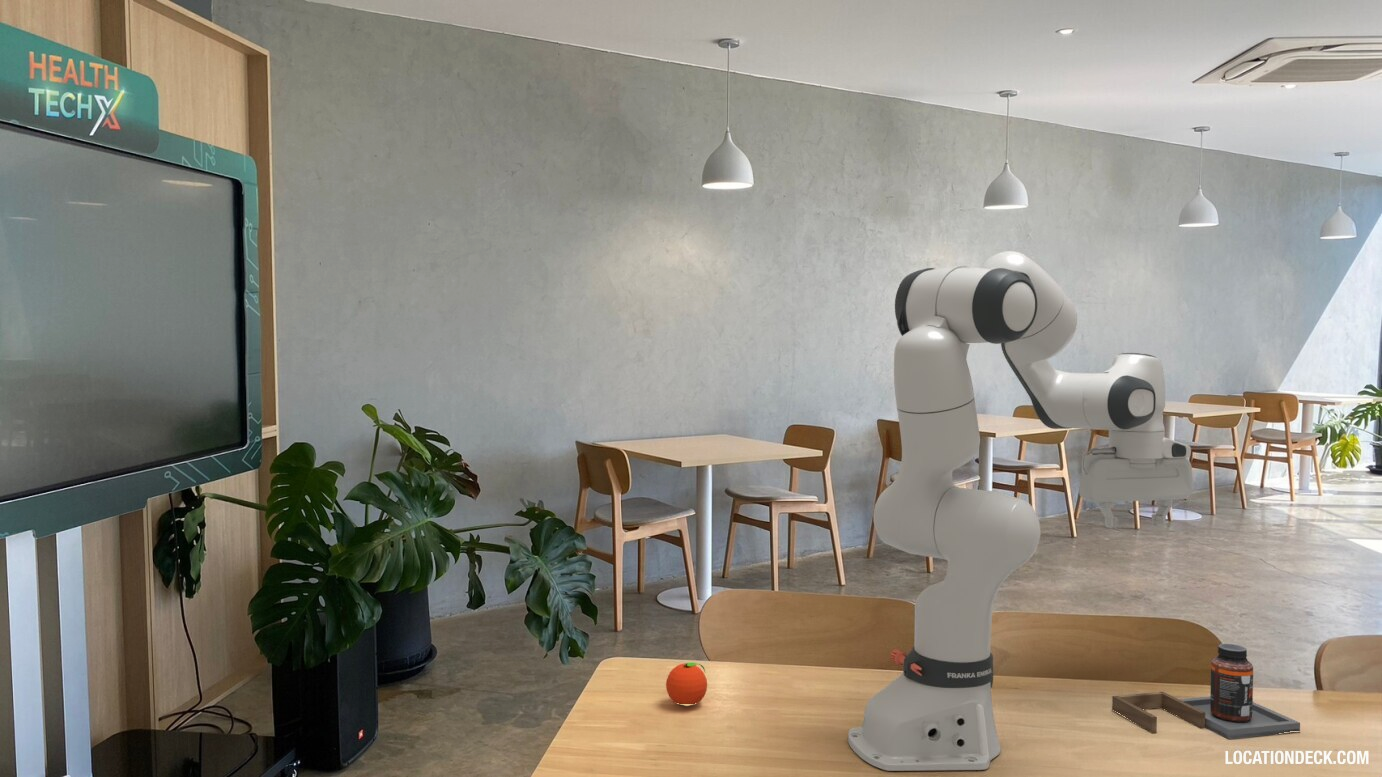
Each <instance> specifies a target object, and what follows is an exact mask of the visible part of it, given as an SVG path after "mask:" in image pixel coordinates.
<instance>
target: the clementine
mask: <svg viewBox="0 0 1382 777" xmlns="http://www.w3.org/2000/svg"><path fill="white" fill-rule="evenodd" d="M697 665H699V666H700V667H701V668H702V669H701V668H700V667H698V666H697ZM705 672H706V670H705V667H704V665H702V664H700V663H696V662H687V663H686V662H685V663H680V664H678V665H677V666H675V667H674V668H672V669H671V671H669V673H668V675H667V678H666V682H665V688H666V692H667V695H668V697H669V698H670V700H671V701H672V700H673V701H674V702H673V701H672V702H673V703H675V702H676V703H679V704H695V703H697V704H699V703H700V702H701V701H702V700H703V698H704V697H705V695H706V693H707V689H708V681H707V680H708V679H707V678H706V674H705ZM676 703H675V704H676ZM695 705H696V704H695Z"/></svg>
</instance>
